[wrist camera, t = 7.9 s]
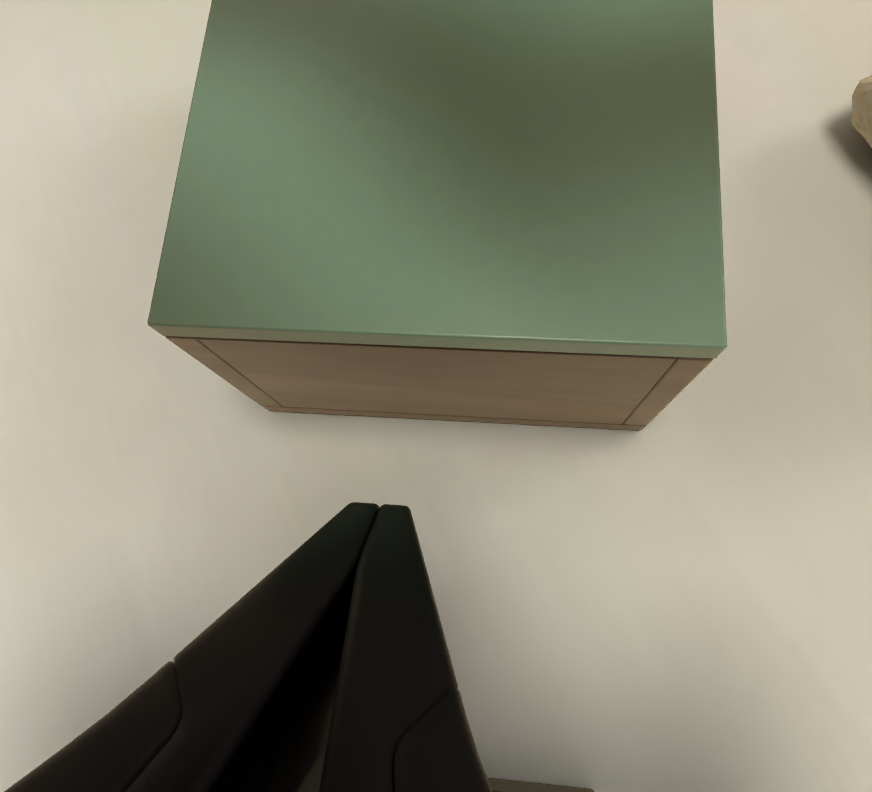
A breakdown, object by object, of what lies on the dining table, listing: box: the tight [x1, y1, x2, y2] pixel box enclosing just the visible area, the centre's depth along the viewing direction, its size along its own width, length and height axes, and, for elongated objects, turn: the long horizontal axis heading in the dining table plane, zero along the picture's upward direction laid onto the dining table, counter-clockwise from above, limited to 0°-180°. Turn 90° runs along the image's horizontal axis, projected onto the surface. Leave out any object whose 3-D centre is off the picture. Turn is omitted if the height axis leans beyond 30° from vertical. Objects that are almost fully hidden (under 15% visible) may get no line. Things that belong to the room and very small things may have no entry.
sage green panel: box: [148, 0, 727, 359], centre depth 15 cm, size 14×11×1 cm
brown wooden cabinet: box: [166, 336, 713, 430], centre depth 18 cm, size 13×11×7 cm
